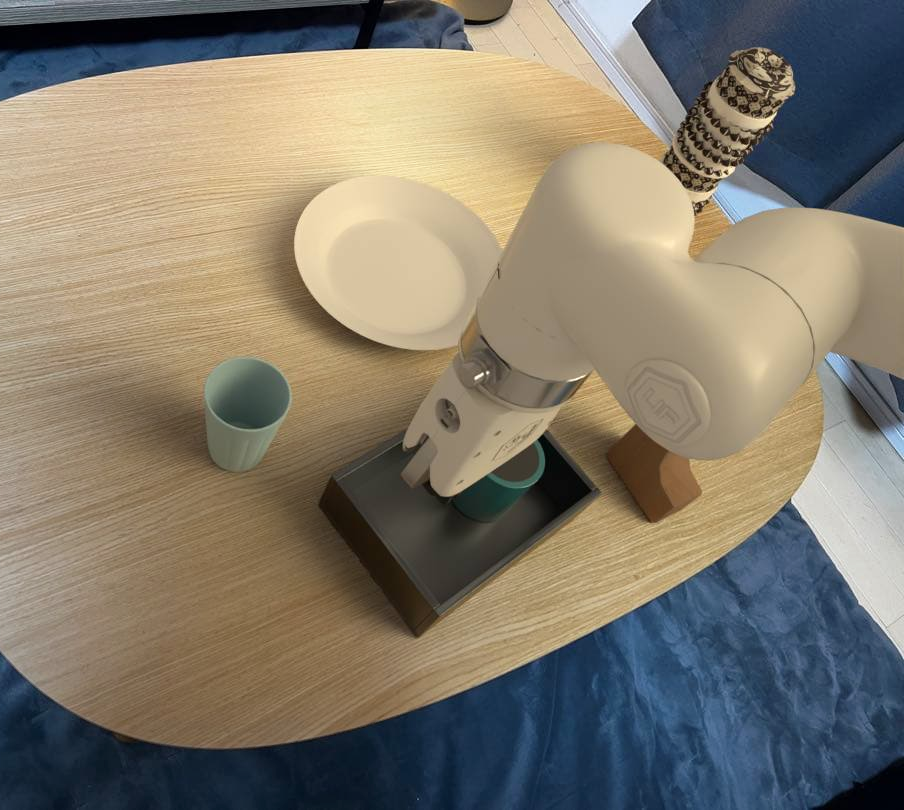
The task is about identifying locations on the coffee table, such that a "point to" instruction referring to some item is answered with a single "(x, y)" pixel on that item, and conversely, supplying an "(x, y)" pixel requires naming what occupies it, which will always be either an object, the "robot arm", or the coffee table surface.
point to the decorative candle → (728, 121)
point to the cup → (244, 410)
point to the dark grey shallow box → (443, 529)
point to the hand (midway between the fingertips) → (438, 484)
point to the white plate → (395, 259)
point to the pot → (502, 486)
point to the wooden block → (653, 474)
